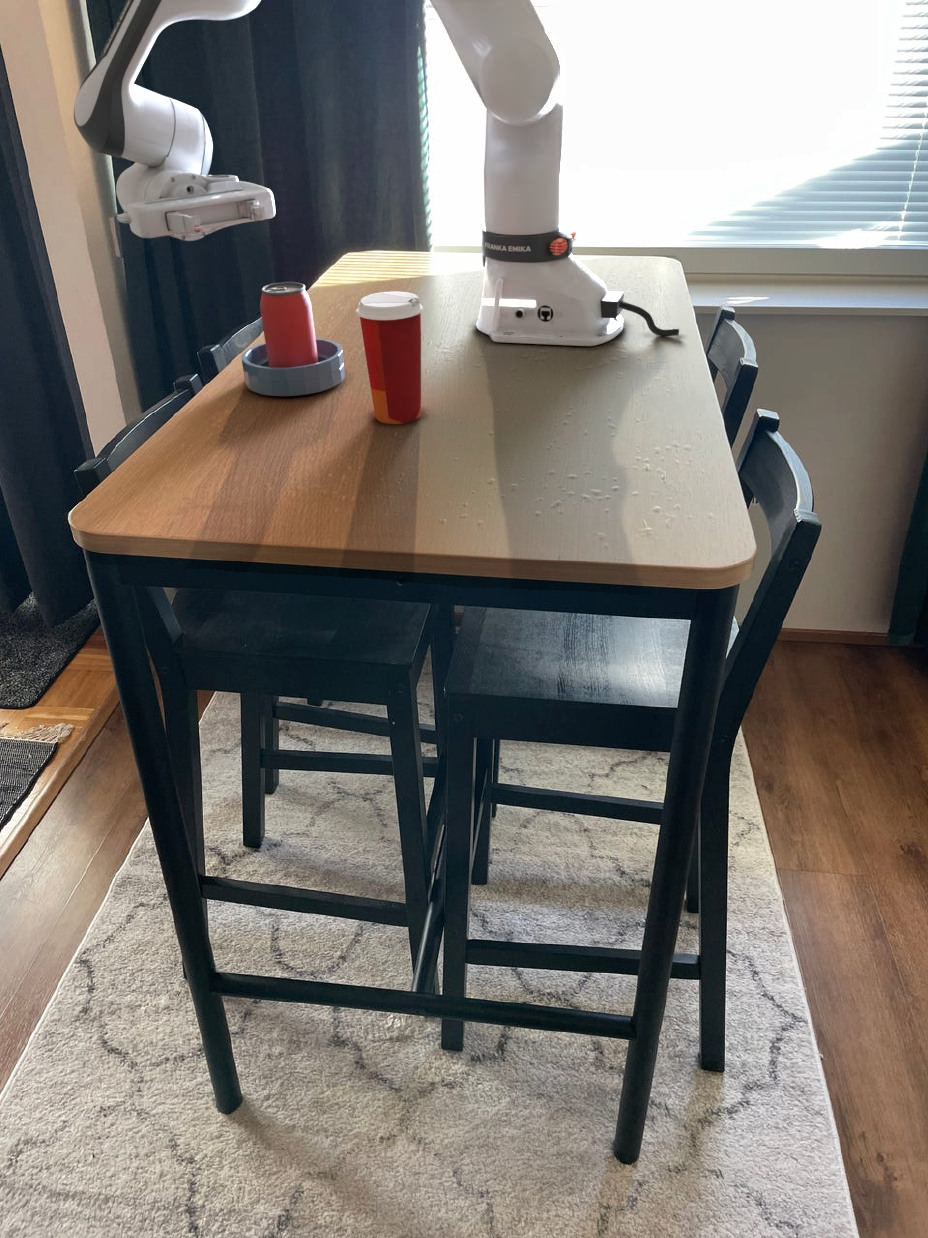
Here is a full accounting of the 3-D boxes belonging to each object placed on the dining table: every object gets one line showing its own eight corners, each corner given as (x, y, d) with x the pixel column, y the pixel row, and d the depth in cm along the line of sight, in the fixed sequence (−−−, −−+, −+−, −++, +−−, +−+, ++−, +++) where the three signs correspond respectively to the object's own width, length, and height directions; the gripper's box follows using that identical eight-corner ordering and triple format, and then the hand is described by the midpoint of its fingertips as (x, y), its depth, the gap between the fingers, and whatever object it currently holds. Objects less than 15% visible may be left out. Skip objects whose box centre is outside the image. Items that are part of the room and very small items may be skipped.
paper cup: (438, 407, 115) (432, 291, 107) (415, 430, 109) (407, 309, 101) (380, 401, 117) (370, 288, 110) (355, 424, 111) (343, 305, 104)
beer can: (273, 372, 127) (259, 282, 120) (321, 369, 127) (310, 279, 121) (268, 388, 122) (254, 295, 115) (319, 385, 122) (307, 292, 115)
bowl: (363, 371, 127) (360, 342, 125) (310, 404, 117) (306, 373, 115) (283, 361, 132) (279, 333, 130) (226, 391, 122) (221, 362, 120)
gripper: (106, 191, 124) (148, 203, 115) (242, 173, 135) (291, 182, 126) (117, 241, 127) (159, 256, 118) (249, 219, 138) (297, 232, 129)
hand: (228, 218), depth 122 cm, fingers open, 8 cm apart
